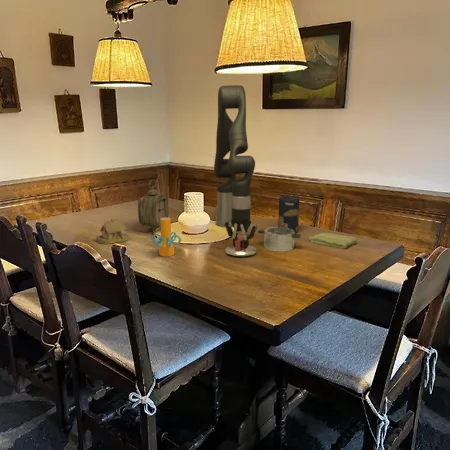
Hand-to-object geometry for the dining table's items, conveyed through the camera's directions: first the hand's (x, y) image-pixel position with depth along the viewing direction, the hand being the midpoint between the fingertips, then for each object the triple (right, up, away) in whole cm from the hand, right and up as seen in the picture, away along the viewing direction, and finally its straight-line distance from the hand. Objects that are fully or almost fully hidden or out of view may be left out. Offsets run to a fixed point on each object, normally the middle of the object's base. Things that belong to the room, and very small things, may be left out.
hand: (240, 247), depth 174 cm
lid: (0, -3, +1) cm, 3 cm away
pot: (+17, 0, +9) cm, 19 cm away
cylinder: (-30, -3, -1) cm, 30 cm away
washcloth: (+41, +1, +15) cm, 44 cm away
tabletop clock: (-41, +6, +32) cm, 52 cm away
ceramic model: (-56, +2, +19) cm, 59 cm away
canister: (+24, +6, +31) cm, 40 cm away
